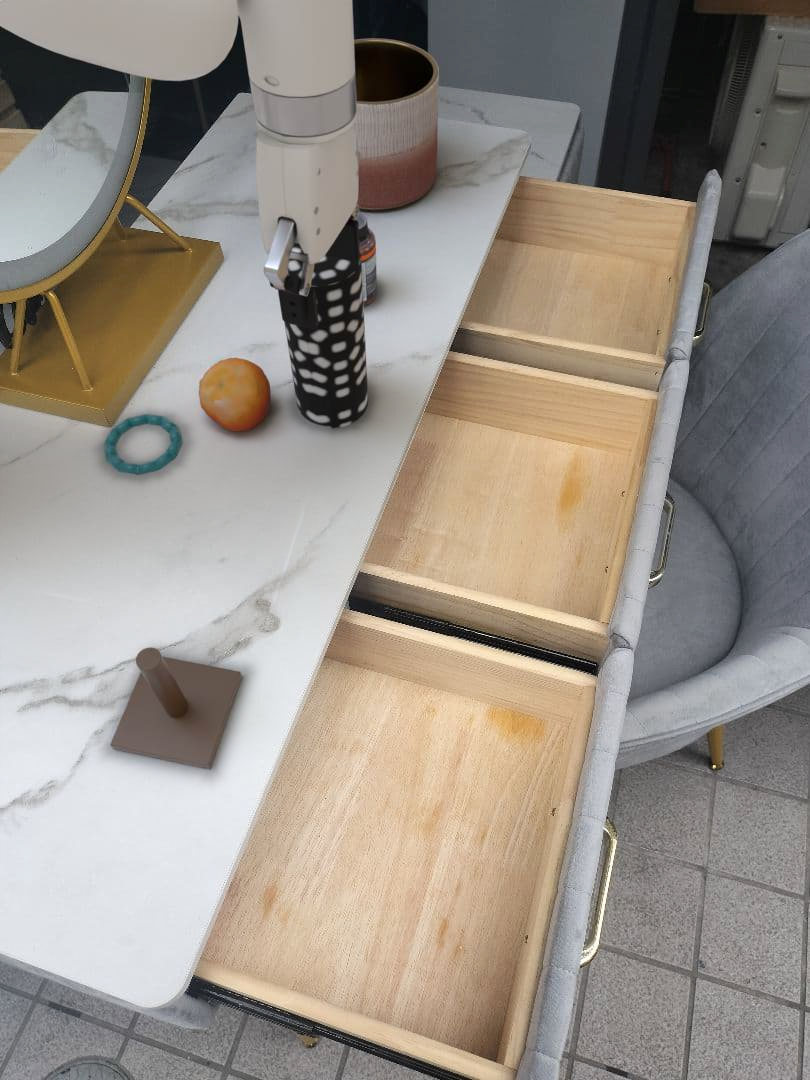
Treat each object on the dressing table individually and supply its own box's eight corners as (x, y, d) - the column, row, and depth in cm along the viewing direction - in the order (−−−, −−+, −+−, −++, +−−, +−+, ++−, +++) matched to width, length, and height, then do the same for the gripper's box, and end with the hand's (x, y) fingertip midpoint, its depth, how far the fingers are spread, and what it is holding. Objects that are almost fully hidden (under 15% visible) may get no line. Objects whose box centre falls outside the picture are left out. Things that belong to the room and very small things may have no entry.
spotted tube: (311, 438, 92) (292, 296, 76) (287, 389, 97) (263, 245, 80) (379, 416, 94) (374, 272, 78) (352, 369, 99) (342, 224, 82)
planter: (338, 138, 127) (330, 29, 114) (448, 156, 124) (454, 46, 111) (299, 204, 117) (286, 93, 104) (418, 224, 115) (420, 113, 102)
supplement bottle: (322, 298, 106) (314, 221, 96) (351, 275, 109) (346, 198, 99) (357, 317, 104) (353, 241, 94) (386, 292, 107) (385, 216, 97)
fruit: (300, 396, 94) (265, 371, 87) (260, 451, 95) (222, 431, 87) (254, 362, 97) (216, 335, 90) (216, 416, 98) (175, 393, 90)
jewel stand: (113, 749, 72) (71, 699, 63) (151, 659, 77) (117, 600, 68) (210, 770, 71) (182, 722, 62) (242, 677, 76) (220, 619, 67)
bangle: (94, 470, 90) (90, 463, 89) (124, 414, 94) (121, 407, 93) (166, 482, 89) (163, 475, 88) (192, 425, 93) (190, 418, 92)
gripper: (304, 34, 64) (321, 225, 78) (202, 149, 55) (242, 342, 69) (393, 50, 63) (394, 241, 77) (304, 171, 54) (324, 363, 68)
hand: (322, 289), depth 73 cm, fingers open, 9 cm apart
